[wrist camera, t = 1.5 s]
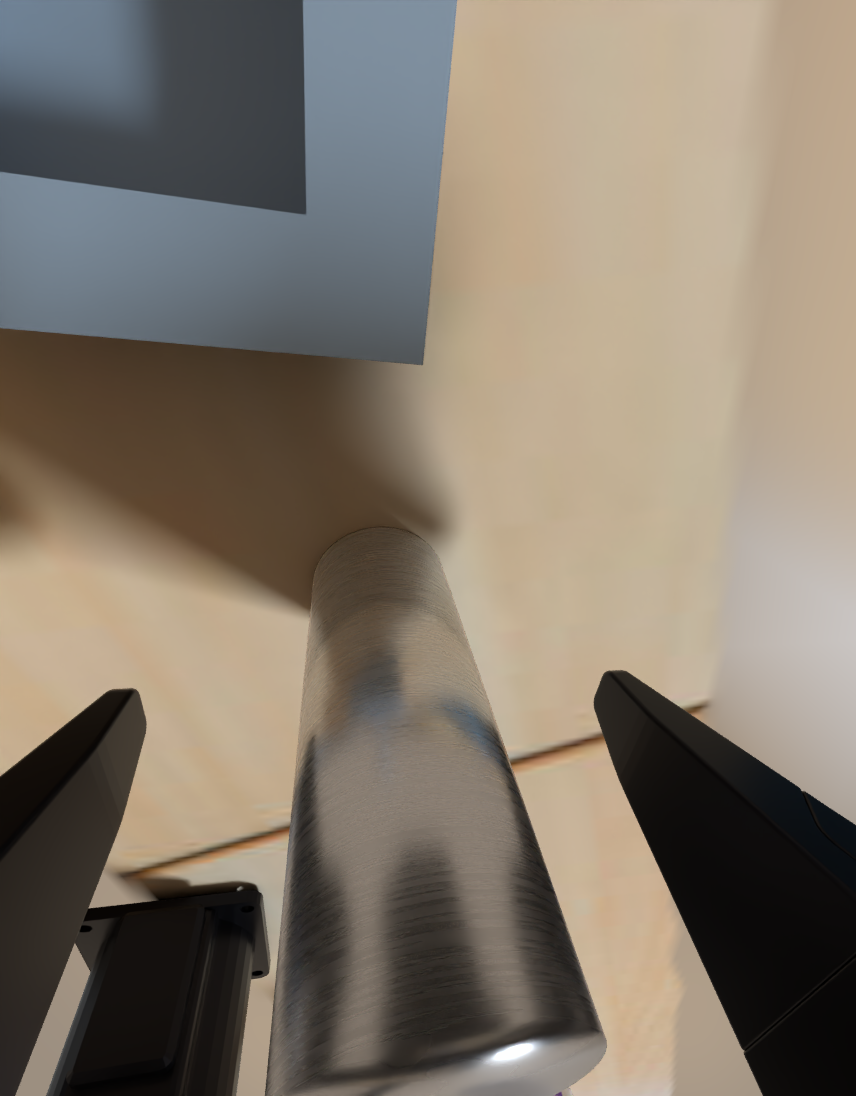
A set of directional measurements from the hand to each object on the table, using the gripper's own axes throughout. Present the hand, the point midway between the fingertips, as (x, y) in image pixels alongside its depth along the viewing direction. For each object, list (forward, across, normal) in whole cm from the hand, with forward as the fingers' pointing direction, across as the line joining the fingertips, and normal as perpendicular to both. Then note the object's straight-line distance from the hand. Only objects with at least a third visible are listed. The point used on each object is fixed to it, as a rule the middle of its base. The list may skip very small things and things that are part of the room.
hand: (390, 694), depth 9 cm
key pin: (+4, 0, 0) cm, 4 cm away
